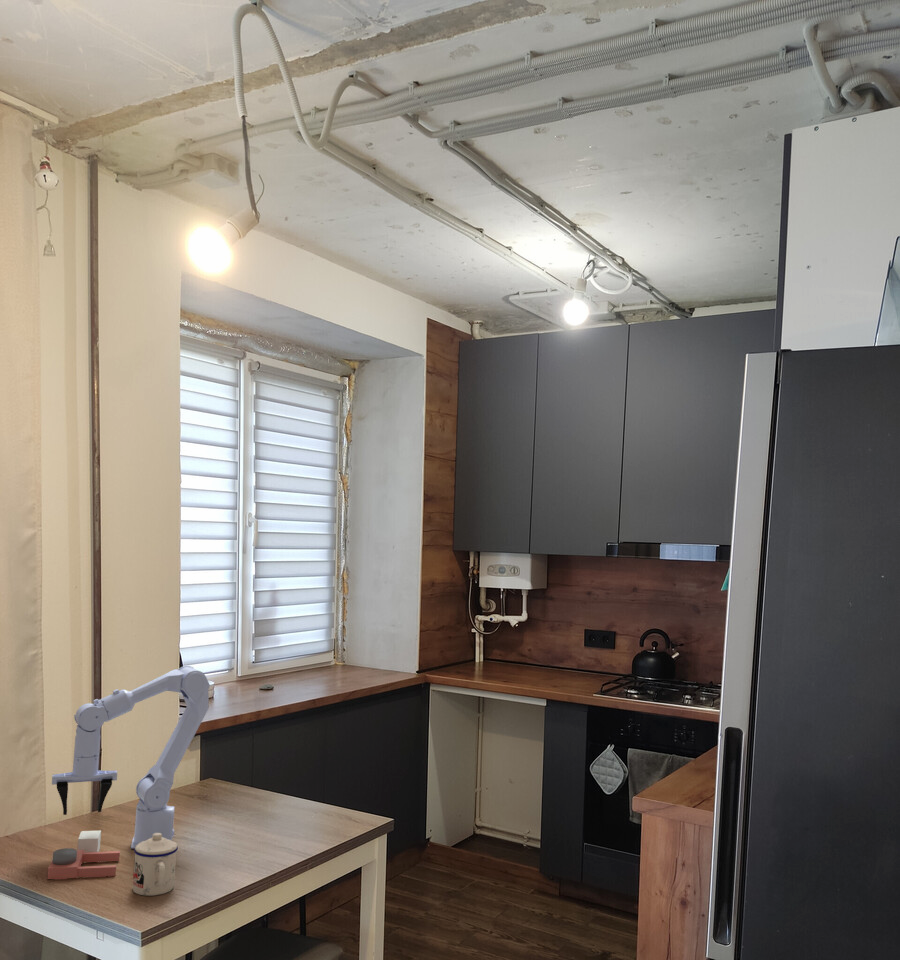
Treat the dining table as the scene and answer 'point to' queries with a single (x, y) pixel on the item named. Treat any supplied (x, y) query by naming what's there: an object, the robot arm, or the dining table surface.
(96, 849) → the white rectangular block
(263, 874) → the dining table surface
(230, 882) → the dining table surface
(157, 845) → the teacup with lid
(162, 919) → the dining table surface
